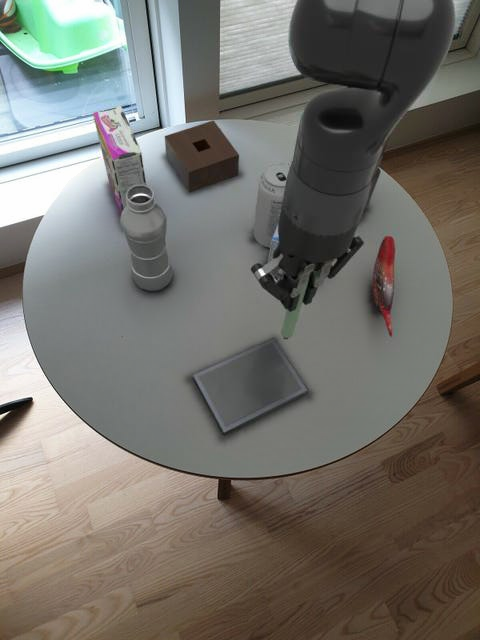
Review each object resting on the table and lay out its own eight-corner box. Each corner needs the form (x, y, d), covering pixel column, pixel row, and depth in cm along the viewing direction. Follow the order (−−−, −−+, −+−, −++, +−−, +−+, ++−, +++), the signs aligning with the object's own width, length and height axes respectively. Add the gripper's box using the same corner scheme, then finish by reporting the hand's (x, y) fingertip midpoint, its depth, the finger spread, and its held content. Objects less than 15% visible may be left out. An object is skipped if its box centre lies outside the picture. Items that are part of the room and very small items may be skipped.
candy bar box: (107, 185, 100) (91, 111, 86) (133, 179, 101) (122, 104, 87) (125, 230, 95) (110, 158, 81) (152, 222, 96) (143, 151, 82)
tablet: (272, 341, 85) (273, 337, 84) (306, 393, 81) (308, 390, 80) (192, 378, 81) (192, 374, 80) (223, 435, 77) (223, 432, 76)
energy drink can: (276, 219, 98) (287, 155, 85) (293, 243, 95) (306, 181, 82) (247, 230, 96) (253, 166, 83) (262, 254, 94) (271, 193, 81)
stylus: (288, 330, 74) (304, 269, 62) (294, 339, 73) (311, 280, 61) (278, 334, 73) (292, 274, 61) (284, 344, 73) (299, 285, 61)
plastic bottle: (167, 299, 88) (157, 217, 71) (127, 291, 89) (107, 207, 71) (177, 268, 91) (171, 182, 74) (138, 260, 92) (123, 172, 75)
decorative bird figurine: (381, 265, 94) (398, 227, 85) (389, 356, 85) (409, 324, 76) (364, 263, 94) (380, 226, 85) (370, 355, 85) (389, 323, 76)
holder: (213, 140, 107) (213, 120, 103) (237, 174, 103) (239, 154, 99) (166, 156, 105) (164, 135, 100) (189, 192, 100) (188, 172, 96)
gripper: (280, 257, 47) (262, 349, 62) (405, 205, 51) (360, 304, 66) (239, 198, 50) (231, 299, 65) (360, 154, 54) (326, 259, 69)
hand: (296, 301), depth 66 cm, fingers closed on stylus, 1 cm apart
